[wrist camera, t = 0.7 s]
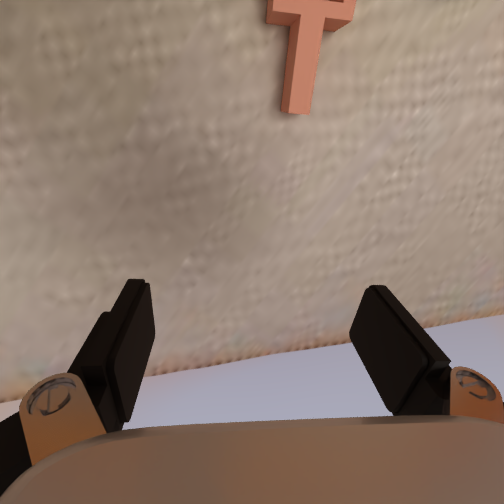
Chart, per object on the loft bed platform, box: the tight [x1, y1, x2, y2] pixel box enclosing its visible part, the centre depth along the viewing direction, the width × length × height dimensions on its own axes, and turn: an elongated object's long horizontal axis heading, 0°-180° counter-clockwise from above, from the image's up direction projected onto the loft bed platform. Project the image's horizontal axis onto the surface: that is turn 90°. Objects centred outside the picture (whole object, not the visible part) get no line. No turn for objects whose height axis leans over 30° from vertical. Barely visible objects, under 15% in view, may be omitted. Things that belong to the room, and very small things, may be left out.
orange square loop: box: [266, 0, 356, 115], centre depth 23 cm, size 14×7×4 cm, turn 176°
